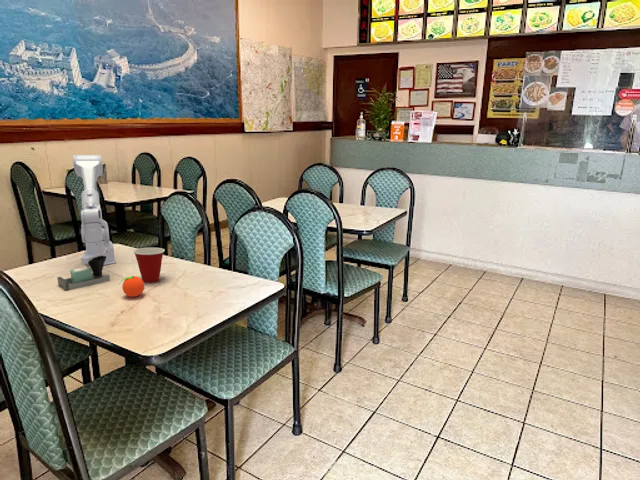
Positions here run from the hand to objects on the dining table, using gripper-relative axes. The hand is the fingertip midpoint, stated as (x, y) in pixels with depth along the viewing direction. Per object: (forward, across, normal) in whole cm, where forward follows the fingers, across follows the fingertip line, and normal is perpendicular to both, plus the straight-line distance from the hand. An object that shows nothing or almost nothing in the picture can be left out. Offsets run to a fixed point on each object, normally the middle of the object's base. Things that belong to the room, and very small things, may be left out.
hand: (97, 276), depth 166 cm
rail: (+1, +3, -3) cm, 5 cm away
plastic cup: (+2, -3, +19) cm, 19 cm away
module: (+1, +4, -4) cm, 6 cm away
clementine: (+2, +13, +20) cm, 24 cm away
